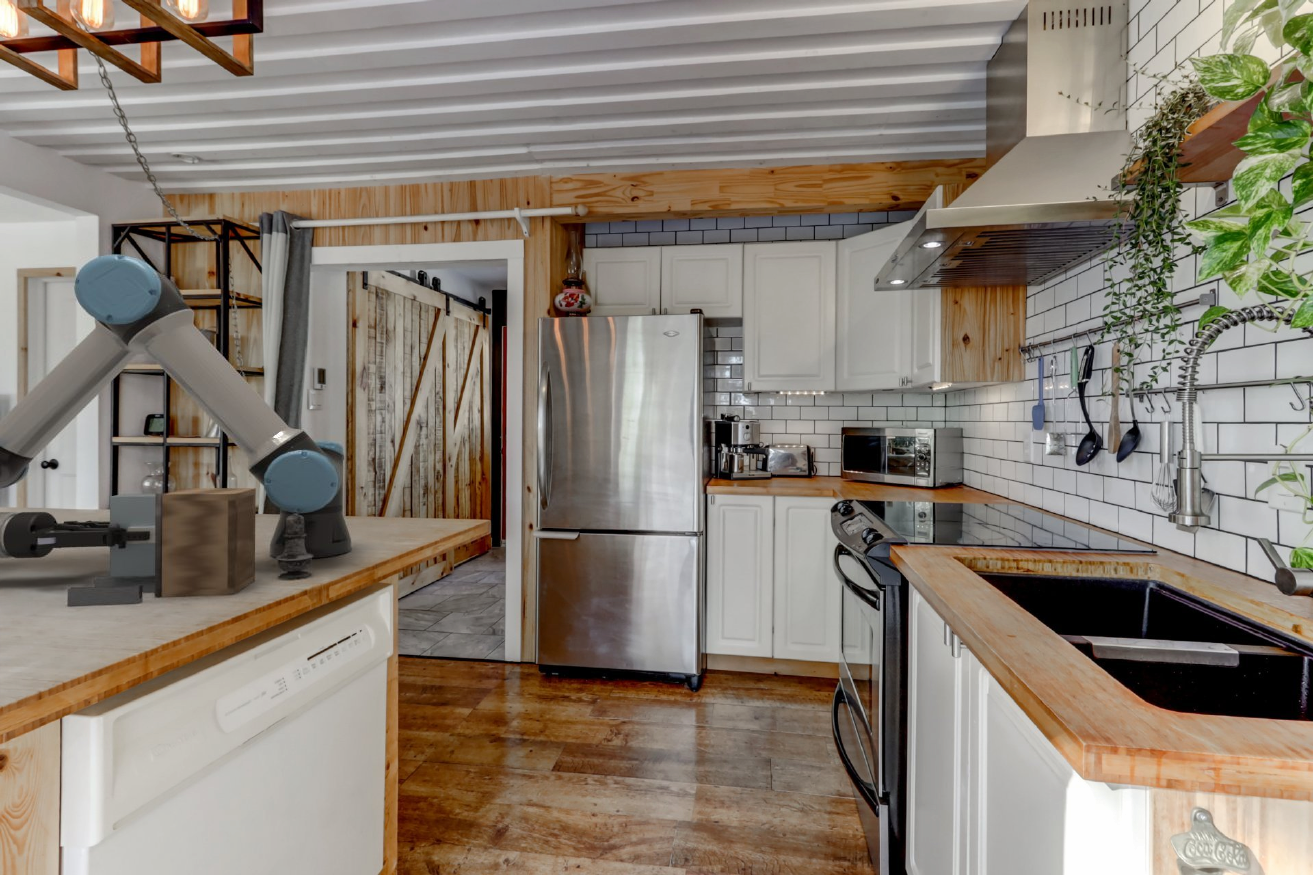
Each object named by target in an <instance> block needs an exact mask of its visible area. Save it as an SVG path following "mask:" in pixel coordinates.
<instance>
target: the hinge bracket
mask: <svg viewBox="0 0 1313 875" xmlns="http://www.w3.org/2000/svg"><path fill="white" fill-rule="evenodd" d="M93 582H94V583H93V584H94V585H93V586H74V587H73V586H72V587H69V588H67V602H66V603H67V604H66V605H67V607H75V606H81V607H82V606H99V605H101V606H102V605H103V606H105V605H126V604H127V605H129V604H141V603H143V597H144V595H143V594H145V593H155V575H148V576H114V577H110V576H97V577H95V578H93Z"/></svg>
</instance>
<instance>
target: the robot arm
mask: <svg viewBox="0 0 1313 875" xmlns="http://www.w3.org/2000/svg"><path fill="white" fill-rule="evenodd" d="M74 294H75V298H76V300H77V302H78V304H79V305H80V306H81V308H82V309H83V310H84V311H85V312H86V313H87V314H88V315H90V316H91V317H93V318H94V324H95V328H93V330H92V331H91V332H90V333H89V334H88V335H86V337H85V338H84V339H82V341H81V342H79V343H78V344H77V346H75V348H74V349H72V350H71V351H70V352H69V353H68V354H67V355H66V356H65V357H64V358H63V359H62V360H60V362H59V363H58V364H56V366H55V367H54V368H53V369H52V370H51V371H49V373H47V375H46V376H44V377H43V378H42V380H41V381H39V382H38V383H37V384H36V386H34V387H33V388H32V389H31V390H30V391H29V392H28V393H27V394H26V395H25V396H24V397H23V398H22V399H21V400H20V401H19V402H18V403H17V404H16V405H14V407H13V408H12V409H10V411H9V412H8V413H6V415H4V416H3V417H2V419H0V489H1V490H2V489H6V488H8V487H11V486H12V485H15V484H18V483H19V482H21V481H22V480H24V478H25V477H26V476H27V474H28V472H29V470H30V469H29V468H30V463H31V462H32V461H33V460H34V459H35V458H36V457H37V455H39V454H40V453H41V452H42V451H43V450H44V449H45V448H47V447H48V445H49V444H50V443H51V442H52V441H53V440H54V439H55V438H56V437H57V436H58V435H59V434H60V433H61V432H62V431H63V430H64V429H65V428H66V427H67V426H68V425H69V424H70V423H71V422H72V421H73V420H74V419H75V418H76V417H78V415H79V414H80V413H81V412H82V411H83V410H84V409H85V408H86V407H87V406H88V405H89V404H90V403H91V402H92V401H93V400H94V399H95V398H96V397H97V396H98V395H99V394H100V393H101V392H102V391H103V390H104V389H105V388H106V387H107V386H108V385H109V384H110V383H111V382H112V381H113V380H114V379H115V378H116V377H117V376H118V375H119V374H120V373H121V372H122V371H123V370H124V369H125V368H126V367H128V365H129V364H130V363H131V362H132V361H133V360H134V359H135V358H136V357H137V356H138V355H149V356H150V358H152V360H154V361H155V362H156V364H157V365H159V366H160V368H162V370H164V372H166V374H167V375H168V376H169V377H170V378H171V379H172V380H173V381H174V382H175V383H176V384H177V385H178V386H179V387H180V388H181V389H182V390H183V391H184V392H185V393H186V395H187V396H188V397H189V398H191V399H192V401H193V402H194V403H195V404H196V405H197V406H198V407H199V408H200V409H201V410H202V411H203V412H204V413H205V414H206V415H207V416H208V417H209V418H210V420H212V421H213V422H214V424H215V425H217V426H218V427H219V428H220V430H221V431H222V432H224V434H226V436H227V437H228V438H229V439H230V440H231V441H232V442H233V443H234V444H235V445H236V446H237V447H238V448H239V449H240V450H241V452H243V453H244V455H245V456H246V457H247V470H248V471H249V473H250V474H252V476H253V477H254V478H255V479H256V480H257V481H258V482H259V484H261V485H262V486H263V488H264V490H265V493H266V495H267V496H268V499H269V500H270V501H271V503H273V504H274V505H275V506H276V507H278V508H279V519H278V521H277V523H276V524H277V525H276V527H275V530H274V532H273V535H272V538H271V540H270V543H269V556H270V557H273V558H276V557H277V556H280V555H282V554H283V553H284V550H285V544H286V538H285V537H284V535H285V534H286V519H287V518H288V517H289V516H290V515H292V514H294V510H295V509H296V510H297V511H298V512H297V514H299V515H301V516H303V517H304V533H305V534H306V536H305V540H304V546H305V550H306V552H307V553H310V554H313V555H314V556H313V557H312V559H319V558H326V557H327V558H328V557H333V556H338V554H339V555H342V554H343V555H344V554H345V552H346V553H348V551H349V552H350V551H351V550H352V537H351V534H350V531H349V529H348V525H347V524H346V519H345V518H344V512H343V511H344V510H343V508H344V506H343V505H344V504H343V503H344V460H345V453H344V447H343V445H342V444H340V443H338V442H335V441H324V440H322V441H321V440H313V439H312V438H311V436H310V435H309V434H308V433H307V432H306V431H305V429H299V428H291V427H290V426H289V425H287V423H286V422H285V421H284V420H283V419H282V418H281V417H280V415H278V414H277V412H276V411H274V409H273V408H272V407H271V406H270V405H269V404H268V403H267V402H266V400H264V399H263V397H261V396H260V394H259V393H258V392H257V391H256V390H255V389H254V388H253V387H252V386H251V385H250V384H249V382H248V381H246V379H245V378H244V377H243V376H242V375H241V373H239V371H237V370H236V368H234V366H233V365H232V364H231V363H230V362H229V361H228V360H227V359H226V358H225V356H223V354H221V353H220V351H219V350H217V348H216V347H215V346H214V345H213V344H212V343H211V342H210V340H208V338H207V337H206V336H205V335H204V334H203V333H202V332H201V331H200V330H199V329H198V328H197V326H195V324H194V320H195V311H194V310H193V309H192V308H191V307H190V306H189V304H187V302H186V301H185V300H184V297H183V295H182V293H181V290H180V289H179V288H178V286H177V284H176V283H174V281H172V279H170V278H169V277H167V276H165V275H164V274H162V273H160V272H159V271H157V270H156V269H154V268H153V267H152V266H151V265H150V264H149V263H147V262H146V261H143V260H141V259H138V258H136V257H132V256H128V255H124V254H105V255H102V256H98V257H96V258H94V259H91V260H90V261H88V262H87V263H85V264H84V265H83V266H82V267H81V269H79V271H78V272H77V275H76V277H75V280H74ZM109 525H110V520H109V521H95V520H93V521H92V520H86V521H78V520H67V521H63V523H59V522H58V521H57V520H56V518H55V516H54V515H52V513H49V512H47V511H24V512H23V511H22V512H17V511H0V559H13V558H15V559H40V558H44V557H46V556H48V555H49V554H50V553H51V552H53V550H54V549H62V548H63V549H67V548H71V549H72V548H99V547H104V548H106V547H108V548H110V547H112V546H115V544H118V549H124V548H126V541H128V544H145V543H155V527H129V528H128V531H126V529H124V528H119V529H108V526H109Z"/></svg>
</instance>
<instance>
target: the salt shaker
mask: <svg viewBox="0 0 1313 875" xmlns="http://www.w3.org/2000/svg"><path fill="white" fill-rule="evenodd" d="M297 512H298V511H297V510H296V509H295V510H294V514H292V515H290V516H289V517H288V518H287V519H286V534H285V535H284V537H285V538H286V544H285V550H284V553H283V554H282V555H280V556H277V557H275V560H277V564H278V567H279V569H280V570H282V571H284V572H282V573H280V574H279V575H278V576H277V579H278V578H279V580H281V579H282V580H281V581H294V580H295V579H297V580H301V579H300V578H304V579H306V578H310V577H311V576H312V573H311V572H309V571H306V569H307V568H309V566H310V565H311V563H312V559H313V558H312V557H313V556H314V555H313V554H310V553H307V552H306V550H305V546H304V540H305V536H306V534H305V533H304V517H303V516H301V515H299V514H297ZM309 576H310V577H309Z"/></svg>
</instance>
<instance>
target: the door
mask: <svg viewBox="0 0 1313 875" xmlns="http://www.w3.org/2000/svg"><path fill="white" fill-rule="evenodd" d="M155 494H156V493H123V494H117V495H113V496H109V521H110V525H109V526H108V529H119V528H124V529H126V531H128V528H129V527H155ZM148 575H155V543H145V544H128V541H126V548H124V549H118V544H115V546H112V547H109V577H114V576H148Z"/></svg>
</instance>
